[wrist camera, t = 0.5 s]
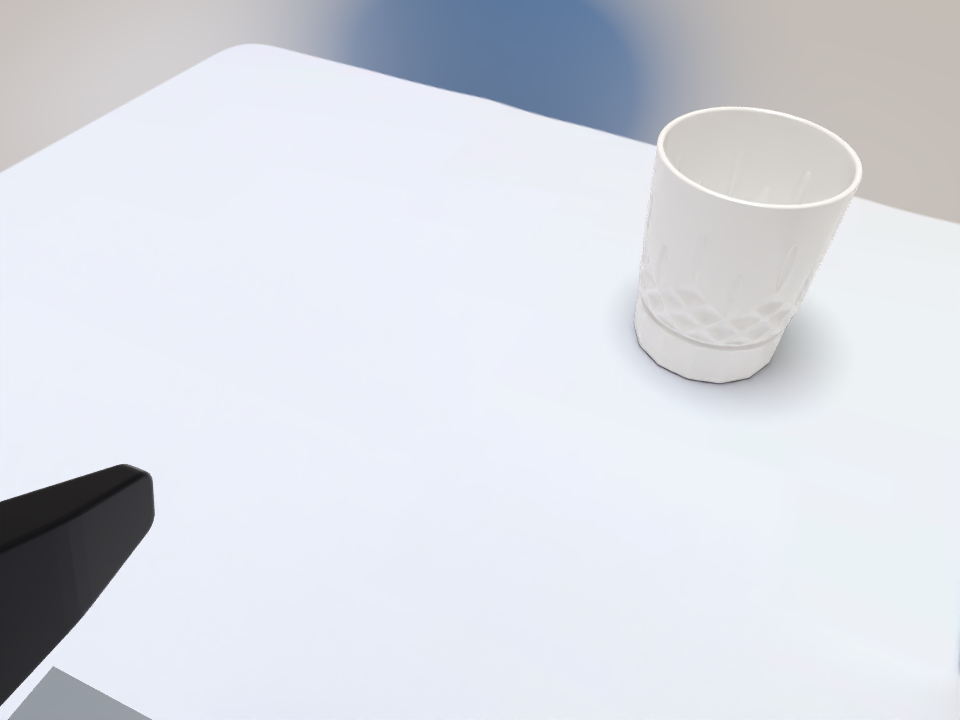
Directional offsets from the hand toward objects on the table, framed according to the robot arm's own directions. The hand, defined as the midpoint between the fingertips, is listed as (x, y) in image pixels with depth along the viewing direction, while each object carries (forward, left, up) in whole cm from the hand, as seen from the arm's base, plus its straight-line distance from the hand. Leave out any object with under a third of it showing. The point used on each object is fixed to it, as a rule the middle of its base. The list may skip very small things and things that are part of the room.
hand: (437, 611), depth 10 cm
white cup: (+25, -2, -16) cm, 29 cm away
